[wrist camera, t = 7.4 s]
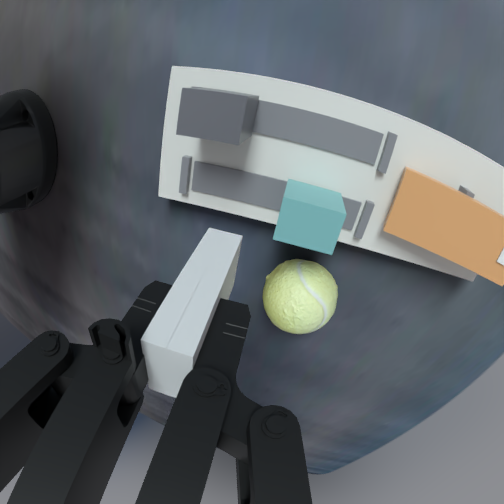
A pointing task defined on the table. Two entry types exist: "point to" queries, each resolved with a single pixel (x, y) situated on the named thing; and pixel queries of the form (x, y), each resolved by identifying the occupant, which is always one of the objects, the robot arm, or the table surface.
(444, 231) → the tan block
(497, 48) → the table surface
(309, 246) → the teal slider
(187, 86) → the panel
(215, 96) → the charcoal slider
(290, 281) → the tennis ball
